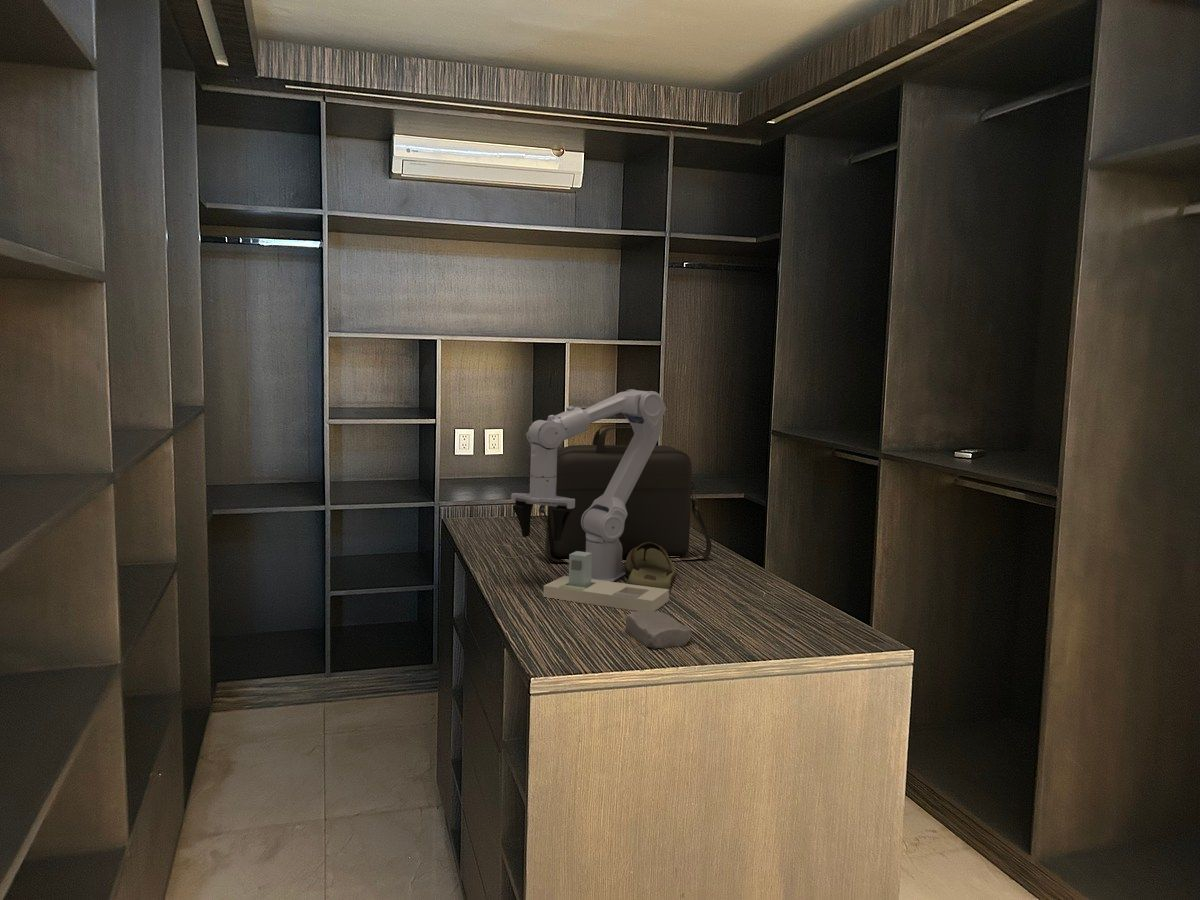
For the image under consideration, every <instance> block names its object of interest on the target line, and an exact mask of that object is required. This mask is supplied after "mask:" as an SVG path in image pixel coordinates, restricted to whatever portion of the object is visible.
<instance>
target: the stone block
mask: <svg viewBox="0 0 1200 900" xmlns="http://www.w3.org/2000/svg"><path fill="white" fill-rule="evenodd" d="M624 629H625V632H626V633H627V634H628V635H629V636H631V637H632V638H633V637H634V639H635V640H636V639H637V640H636V641H638V642H639V643H641V645H642V646H644V645H645V646H644V647H646V648H649V647H650V649H651V648H652V650H658V649H667V648H672V647H671V646H678V647H684V646H686V645H687V644H688V643H689V641H690V639H691V638H692V628H691V627H689V626H688V625H687V624H685V625H684V624H682V623H680V622H678V621H677V619H675V618H674V617H672V616H671V615H669V614H667V613H665V612H662V611H655V612H654V611H651V610H649V611H644V610H641V611H633V612H630V614H627V615H626V617H625V627H624ZM666 647H667V648H666ZM657 648H658V649H657Z"/></svg>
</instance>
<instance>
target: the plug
mask: <svg viewBox="0 0 1200 900" xmlns="http://www.w3.org/2000/svg"><path fill="white" fill-rule="evenodd" d="M568 576H569V585H571V586H578V587H585V588H588V587H590V586H591V577H592V553H588V552H580V551H576V552H573V553H571V554H569V563H568Z"/></svg>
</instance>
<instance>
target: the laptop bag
mask: <svg viewBox="0 0 1200 900" xmlns="http://www.w3.org/2000/svg"><path fill="white" fill-rule="evenodd" d="M603 428H604V429H603ZM601 429H603V430H602V431H601ZM613 429H632V426H631V424H606V425H601V427H600V428H598V430H597V431H596V432H595V433H594V436H593V439H592V443H591V444H577V445H575V444H574V445H568V446H564V447H562V448H560V449H557V483H556V496H560V497H566V498H572V499H575V508H572V512H571V513H570V515H569V517H568V519H567V521H566V523H565V526H564V529H563V532H562V536H561V540H558V541H554V518H553V512H552V509H555V508H557V507H555V506H547V514H546V510H545V509H546V505H539V509H538V514H539V517H540V520H541V521H542V522H543V525H544V529H545V541H544V550H545V553H546V555H547V557H548V558H549V559H550V560H551V561H553V562H555V563H559V562H564V561H563V560H561V559H569V554H571V553H573V552H576V551H580V552H586V532H585V531H584V530H583V528H582V526H581V518H582V515H583V513H584V512H585V511H586V510H587V509H588V508H589V507H590V506H591V505H592V504H593V502H594V500H595V499H597V498H598V497H600V496H602V495H603V494H604V492H605V490H606V488H607V486H608V484H609V482H610V480H611V479H612V477H613V475H614V473H615V471H616V469H617V467H618V465H619V463H620V461H621V459H622V457H623V455H624V453H625V451H626V449H627V448H628V446H629V444H606V439H607V438H606V436H607V434H608V432H609V431H610V430H613ZM691 461H692V460H691V458H690V456H689V454H687V453H686V452H684V451H682V450H679V449H678V448H674V447H672V446H669V445H661V444H659V445H657V444H656V445H655V447H654V449H653V451H652V453H651V455H650V457H649V459H648V461H647V463H646V465H645V467H644V469H643V471H642V473H641V475H640V476H639V478H638V480H637V482H636V484H635V486H634V488H633V490H632V492H631V494H630V496H629V498H628V500H627V502H626V504H625V507H626V510H627V514H628V515H627V517H626V520H625V523H624V531H623V533H622V535H621V536H620V537H619V541H620V542H621V544H622V549H623V552H622V558H627V556H628V554H629V552H630V551H631V550H632V549H634V548H635V547H638V546H639V545H641V544H643V543H646V542H651V543H655V544H657V545H659V546H661V547H662V548H663V549H664V550H665V551H666V552H667V554H668V556H683V555H684V556H683V557H686V555H687V554H688V552H689V550H690V549H689V548H690V532H691V530H690V529H691V512H692V515H693V516H694V518H695V519H696V521H697V523H698V524H699V526H700V528H701V530H702V532H703V535H704V537H705V541H706V548H705V550H704V552H703V553H702V554H700V555H702V556H703V557H706V558H708V557H709V556H710V554H711V551H712V541H711V538H710V535H709V532H708V529H707V527H706V525H705V522H704V520H703V518H702V514H701V510H700V509H699V505H698V504H699V501H698V498H697V488H696V486H695V483H694V481H692V479H693V466H692V462H691ZM693 491H694V492H695V493H694V494H695V498H694V495H693ZM543 503H549V502H543ZM542 514H543V516H544V519H545V521H544V519H543V516H542ZM545 522H546V523H545ZM660 552H661V551H660Z"/></svg>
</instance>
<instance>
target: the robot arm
mask: <svg viewBox="0 0 1200 900" xmlns="http://www.w3.org/2000/svg"><path fill="white" fill-rule="evenodd" d="M565 409H566V410H565V411H562V412H560V413H558V414H555V415H554V414H550V415H548V416H547V419H546V420H543V419H537V420H535V421H533V422H532V423H531V425H530V426H529V428H528V431H527V432H526V433H525V435H526V439H527V441H528V442H529V445H530V466H529V467H530V468H529V469H530V470H529V472H530V473H529V474H530V475H529V493H523V492H513V493H511V495H510V503H512V504H513V503H514V505H512V510H513V512H514V514H515V515H516V518H517V520H518V523H519V525H520V526H519V527H520V530H521V536H522V538H526V537H529V536H530V535H531V517H532V511H533V507H534V505H537V506H540V505H546V506H547V507H548V506H555V507H557V508H555V509H552V512H553V518H554V541H558V540H561V536H562V532H563V529H564V526H565V523H566V521H567V519H568V517H569V515H570V513H571V512H572V508H575V499H572V498H566V497H560V496H556V483H557V451H558V448H559V446H560V445H561V444H562V442H564V441H565V440H568V439H570V438H572V437H575V436H578V435H579V434H583V433H584V432H587V430H589V429H588V428H589V426H590V424H592V423H595V422H598V421H600V420H603V419H606V418H609V417H612V416H614V415H616V414H619V413H622V414H623V415H624V417H625V418H626V420H627V421H628V422H629V425H631V426H632V428H631V430H632V431H633V436H632V438H631V440H630V442H629V444H628V445H629V446H628V448H627V449H626V451H625V453H624V455H623V457H622V459H621V461H620V463H619V465H618V467H617V469H616V471H615V473H614V475H613V477H612V479H611V480H610V482H609V484H608V486H607V488H606V490H605V492H604V494H603V495H602V496H600V497H598V498H597V499H595V500H594V502H593V504H592V505H591V506H590V507H589V508H588V509H587V510H586V511H585V512H584V513H583V515H582V518H581V526H582V528H583V530H584V531H585V532H586V552H588V553H592V577H591V579H594V580H602V581H609V582H615V581H617V580H619V579H620V578H622V577H624V576H625V574H627V573H626V572H623V563H622V552H623V549H622V544H621V542H620V541H619V537H620V536H621V535H622V533H623V531H624V523H625V520H626V517H627V515H628V514H627V510H626V507H625V504H626V502H627V500H628V498H629V496H630V494H631V492H632V490H633V488H634V486H635V484H636V482H637V480H638V478H639V476H640V475H641V473H642V471H643V469H644V467H645V465H646V463H647V461H648V459H649V457H650V455H651V453H652V451H653V449H654V447H655V445H657V443H658V441H659V438H660V436H661V428H662V419H663V416H664V415H665V413H666V411H667V408H666V406H665V402H664V399H663V397H662V395H661V394H660V393H658V392H657V391H653V390H649V391H646V390H637V389H634V388H633V389H632V388H631V389H626V391H620V392H618V393H615V394H613V395H612V396H610V397H608V398H606V399H603V400H602V401H599V402H597V403H595V404H592V405H591V406H588V407H586V408H585V409H582V408H581V407H578V406H575V407H574V406H573V405H570V406H567V407H566V408H565ZM631 426H630V427H631ZM543 502H546V503H543ZM548 502H549V503H548ZM546 506H545V507H546Z"/></svg>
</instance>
